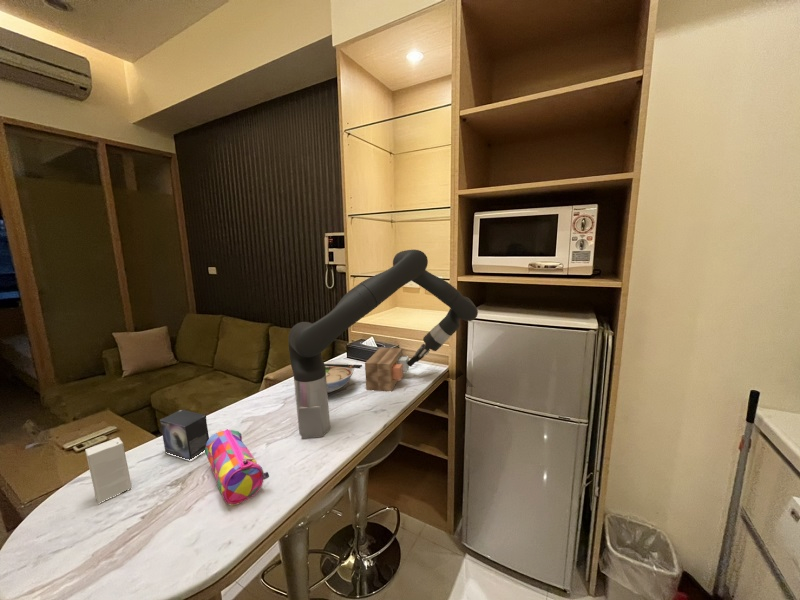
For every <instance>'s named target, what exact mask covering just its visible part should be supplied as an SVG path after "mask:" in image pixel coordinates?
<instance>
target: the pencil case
mask: <svg viewBox="0 0 800 600" xmlns="http://www.w3.org/2000/svg"><path fill="white" fill-rule="evenodd" d="M242 439H243V436H242V433H241V432H240V431H239V430H234V429H225V430H220V431H218V432H215V433H214V434H212V435H211V436H209V439H208V441H207V444H206V448H205V453H204V454H205V456H206V458H207V460H208V463H209V464H210V467H211V469H212V472H213V474H214V477H215V480H216V484H217V488H218V490H219V492H220V494H221V496H222V498H223V501H224V502H225V503H226V504H227V505H229V506H235V505H238V504H241V503H243V502H245V501H247V500H249V499H252V498H253V497H254V496H255V495H257V493H258V492H260V489H261V487H262V485H263V484H264V481H265V480H267V479H268V478H269V477H270V475H269V472H268V471H266V472H264V470H263V468H262V466H261V465H260V464H259V463H257V460H256V459H255V458H254V456H253V455H252V453H251V452H250V450H249V448H248V447H247V445H246V444H245V443H244V442H243V440H242Z"/></svg>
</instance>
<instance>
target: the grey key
mask: <svg viewBox="0 0 800 600" xmlns="http://www.w3.org/2000/svg"><path fill="white" fill-rule="evenodd" d="M409 358H410V357H409V356H408V355H407V356H402V357H399V358H398V364H403V372H405V373H407V371H408V370H409V368H410V366H409V365H408V364H407V362H408V361H409V360H410V359H409Z"/></svg>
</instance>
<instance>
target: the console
mask: <svg viewBox="0 0 800 600" xmlns="http://www.w3.org/2000/svg"><path fill="white" fill-rule="evenodd" d="M399 357H403V348H402V347H398V348H397V347H379V348H378V349H377V350H376V351H375V352H374V353H373V354H372V355H371V357H369V358H368V359H367V360H366V361H365V362H364V370H365V374H364V375H365V388H366V391H372V390H374V391H375V392H387V391H391V392H392V391H393V390H394V388H395V386H396V385H395V384H397V383H398V381H399V380H397V379H392V367H393V365H394V364H398V358H399ZM392 389H393V390H392Z"/></svg>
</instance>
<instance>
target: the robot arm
mask: <svg viewBox="0 0 800 600" xmlns="http://www.w3.org/2000/svg"><path fill="white" fill-rule="evenodd" d="M428 263H429V261H428V256H427V255H426V253H425V252H424V251H422V250H419V249H407V250H406V249H405V250H401V251H399V252H398V253H396V254H395V255H394V257H393V260H392V267H390V268H388V269H386V270H384V271H381V272H379V273H378V274H377V273H376V274H375V275H372V276H371V277H369V278H367V279H364V280H363V281H362V282H361V281H360V283H358V284H357V285H355V286H354V287H353V288H351V289H350V290H348V291H347V292H346V293H345V294H344V295H343V296H342V297H341V299H340V300H339V302H338V303H337V304H336V305H335V307H334V308H333V309H331V311H330V312H328V313H326V315H324V316H323V317H321V318H319V319H318V320H316V321H315V322H313V323H312V322H309V321H300V322H298V323H296V324H294V325H293V326H292V328H291V329H289V333H288V337H287V338H288V340H287V342H288V350H289V359H290V361H289V362H290V366H291V369H292V374H293V381H294V392H295V393H294V394H295V405H296V415H297V424H298V434H299V435H300V436H301V439H303V440H304V439H312V438H313V439H314V438H322V437H324V436H325V435H326V433H328V431H329V430H330V429H331V421H330V411H329V409H330V408H329V397H328V396H329V395H328V394H329V393H327V381H326V368H325V364H324V363H325V362H324V360H323V357H322V352H324V351H325V350H326V349H327V348H328V347H329V346H330V345H331V344H332V343H333V342H334V341H335V340H336V339H337V338H339V336H341V335H342V334H343V333H344V332H345V331H346V330H348V329H349V328H351V327H352V326H353V325H355V324H356V323H357V322H358V321H360V320H361V319H362V318H364V317H366V316H367V315H368V314H369V313H370V312H372V311H373V310H375V309H376V308H377V307H379V306H380V305H381V304H382V303H383V302H385V301H387V299H389V298H390V297H391V296H392V295H393V294H395V293H396V292H397V291H398V290H400V288H402V287H404V286H405V285H407V284H409V283H411V282H413V283H415V284H416V285H418V286H419V287H421V288H423V289H424V290H425V291H428V293H430V294H431V295H433V296H434V297H436V299H438V300H439V301H441V302H442V303H443V304H444V305H446V306H447V307H448V308H450V309H449V310H448V311H447V314H446V315H445V317H444V318H442V319H441V320H440V321H439V322H438V323H437V324H435V326H433V327H432V329H430V331H429V332H428V333H426V334H425V335H424V336H423V337H422V338H423V340H422V341H423V343H422V344H421V345H420V347H419V348H418V349H417V350H416V351H415V353H414V354H413V356H412V357H411V358H410V359H409V361H408V362H407V364H408V365H409V368H410V367H412V366H413V365H415V363H418V362H419V361H420V360H422V359H423V358H424V357H426V355H428V354H429V353H430V350H431V351H433V352H437V351H438V350H439V349H440V348H441V347H443V345H444V344H445V343H446V342H448V340H449V339H450V338H451V337H452V336H453V335H454V334H455V333H456V332H457V331H458V330H459V329H460V328H461V327H460V326H461V325H460V324H461V323H460V320H463V321H465V322H472V321H474V320H476V318H477V317H478V314H479V311H478V308H477V306H476V305H475V304H474V302H473V301H472V299H470V298H469V297H467V296H464V295H462V293H461V292H460V291H459V290H458V289H457V288H455V287H454V286H453V285H452V284H451V283H449V282H448V281H446V280H444V279H443V278H440V276H439V277H438V276H436V275H434V274H433V273H431V272H430V271H428V270H427V267H428Z"/></svg>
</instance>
